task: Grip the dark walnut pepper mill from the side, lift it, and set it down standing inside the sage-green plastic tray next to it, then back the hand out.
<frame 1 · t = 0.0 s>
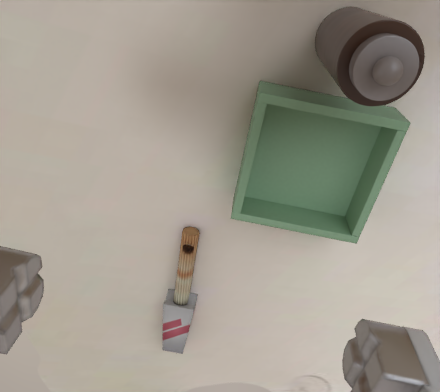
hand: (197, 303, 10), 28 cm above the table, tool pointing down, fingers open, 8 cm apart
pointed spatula: (183, 288, 48), on the table
pepper mill: (345, 39, 32), on the table
tray: (307, 156, 38), on the table
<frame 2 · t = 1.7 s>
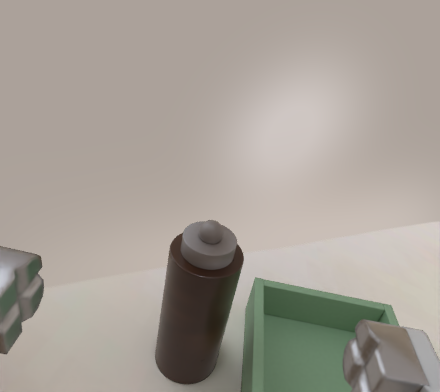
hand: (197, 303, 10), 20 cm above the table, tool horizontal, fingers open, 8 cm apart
pepper mill: (186, 355, 31), on the table
tray: (318, 382, 31), on the table
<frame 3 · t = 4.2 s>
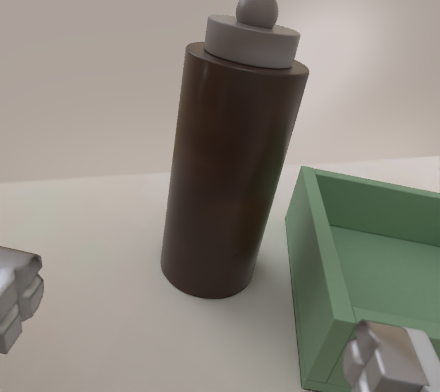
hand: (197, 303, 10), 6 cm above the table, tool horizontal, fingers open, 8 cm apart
pepper mill: (206, 264, 21), on the table
tray: (404, 303, 21), on the table
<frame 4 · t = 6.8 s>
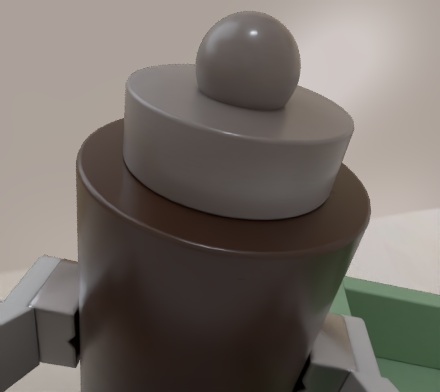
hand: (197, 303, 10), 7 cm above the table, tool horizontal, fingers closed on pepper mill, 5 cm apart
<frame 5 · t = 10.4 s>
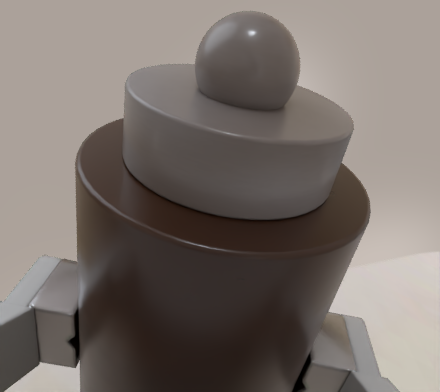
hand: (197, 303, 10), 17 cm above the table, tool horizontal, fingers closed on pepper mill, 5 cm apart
when the fingers open (7 cm above the table, at t = 13.9 s): pepper mill stays where it is, resting on tray.
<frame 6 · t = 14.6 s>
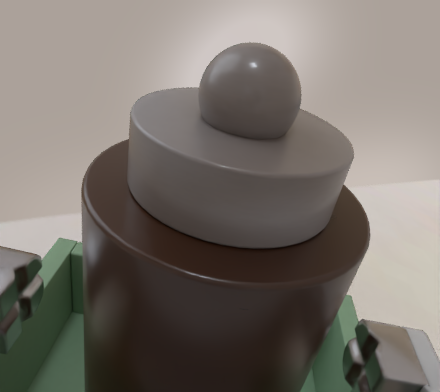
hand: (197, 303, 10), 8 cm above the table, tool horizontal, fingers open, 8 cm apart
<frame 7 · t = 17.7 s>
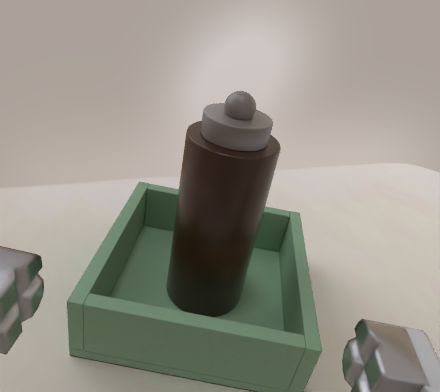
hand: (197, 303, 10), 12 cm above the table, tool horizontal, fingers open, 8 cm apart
pepper mill: (203, 288, 26), point 1 cm above the table, touching tray
tray: (200, 293, 26), on the table
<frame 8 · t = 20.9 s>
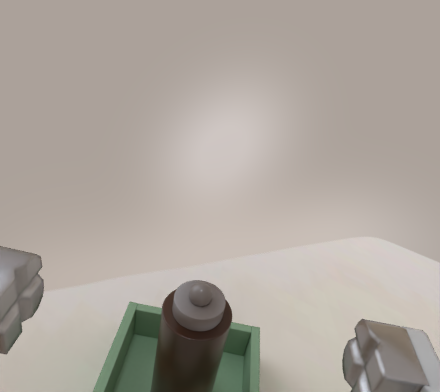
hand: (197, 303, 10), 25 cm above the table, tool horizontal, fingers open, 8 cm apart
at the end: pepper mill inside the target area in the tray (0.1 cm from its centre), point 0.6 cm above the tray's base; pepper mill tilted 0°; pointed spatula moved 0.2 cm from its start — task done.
